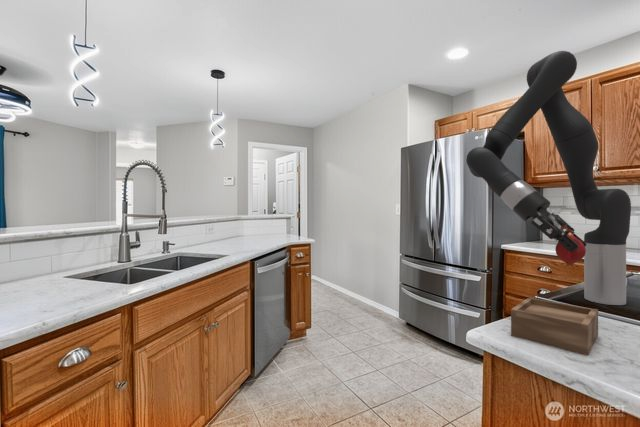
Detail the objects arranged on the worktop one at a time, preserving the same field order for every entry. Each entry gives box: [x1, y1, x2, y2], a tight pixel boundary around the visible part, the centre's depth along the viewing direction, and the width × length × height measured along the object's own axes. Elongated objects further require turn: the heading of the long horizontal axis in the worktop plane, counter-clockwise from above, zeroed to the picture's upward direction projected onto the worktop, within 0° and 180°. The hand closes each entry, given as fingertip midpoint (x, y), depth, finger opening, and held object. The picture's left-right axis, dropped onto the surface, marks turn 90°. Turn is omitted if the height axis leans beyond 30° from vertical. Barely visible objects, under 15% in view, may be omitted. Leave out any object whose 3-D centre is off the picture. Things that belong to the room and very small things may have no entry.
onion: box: [555, 233, 586, 266], centre depth 77 cm, size 6×6×8 cm
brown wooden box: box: [510, 297, 599, 356], centre depth 68 cm, size 13×13×6 cm
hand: (579, 248), depth 75 cm, fingers closed on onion, 5 cm apart
